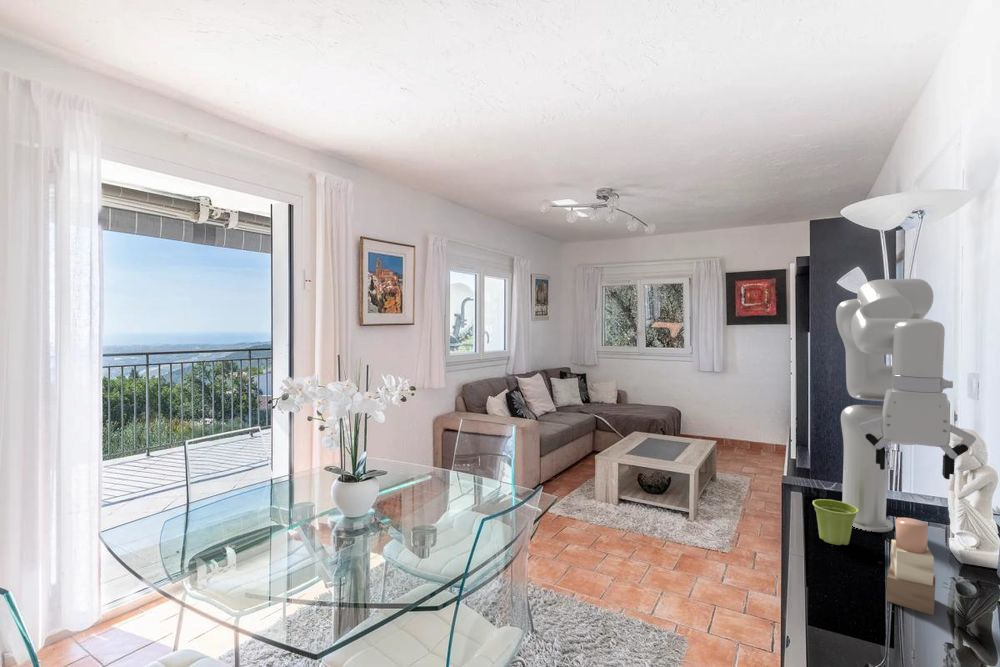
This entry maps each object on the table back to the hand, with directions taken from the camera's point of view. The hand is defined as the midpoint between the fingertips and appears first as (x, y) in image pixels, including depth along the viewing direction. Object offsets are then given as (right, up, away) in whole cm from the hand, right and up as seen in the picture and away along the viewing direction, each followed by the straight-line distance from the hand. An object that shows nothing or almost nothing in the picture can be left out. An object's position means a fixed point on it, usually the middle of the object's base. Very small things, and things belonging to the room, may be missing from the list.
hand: (913, 472), depth 98 cm
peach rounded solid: (0, -15, +1) cm, 15 cm away
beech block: (0, -20, +1) cm, 20 cm away
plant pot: (+2, -24, +27) cm, 36 cm away
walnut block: (0, -25, +1) cm, 25 cm away
